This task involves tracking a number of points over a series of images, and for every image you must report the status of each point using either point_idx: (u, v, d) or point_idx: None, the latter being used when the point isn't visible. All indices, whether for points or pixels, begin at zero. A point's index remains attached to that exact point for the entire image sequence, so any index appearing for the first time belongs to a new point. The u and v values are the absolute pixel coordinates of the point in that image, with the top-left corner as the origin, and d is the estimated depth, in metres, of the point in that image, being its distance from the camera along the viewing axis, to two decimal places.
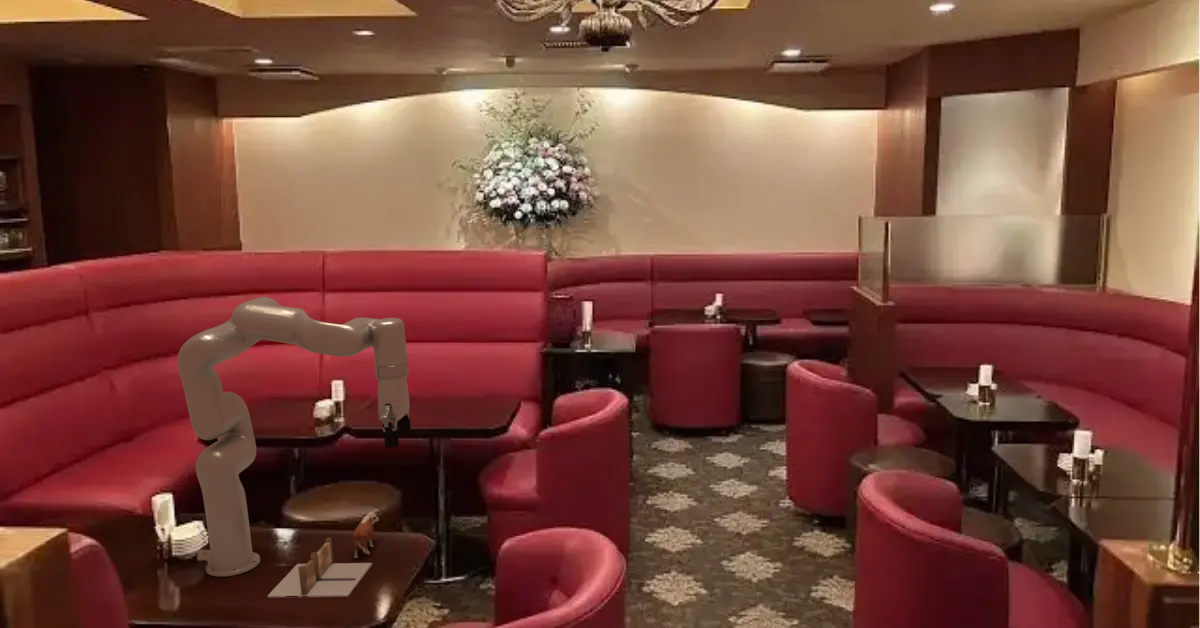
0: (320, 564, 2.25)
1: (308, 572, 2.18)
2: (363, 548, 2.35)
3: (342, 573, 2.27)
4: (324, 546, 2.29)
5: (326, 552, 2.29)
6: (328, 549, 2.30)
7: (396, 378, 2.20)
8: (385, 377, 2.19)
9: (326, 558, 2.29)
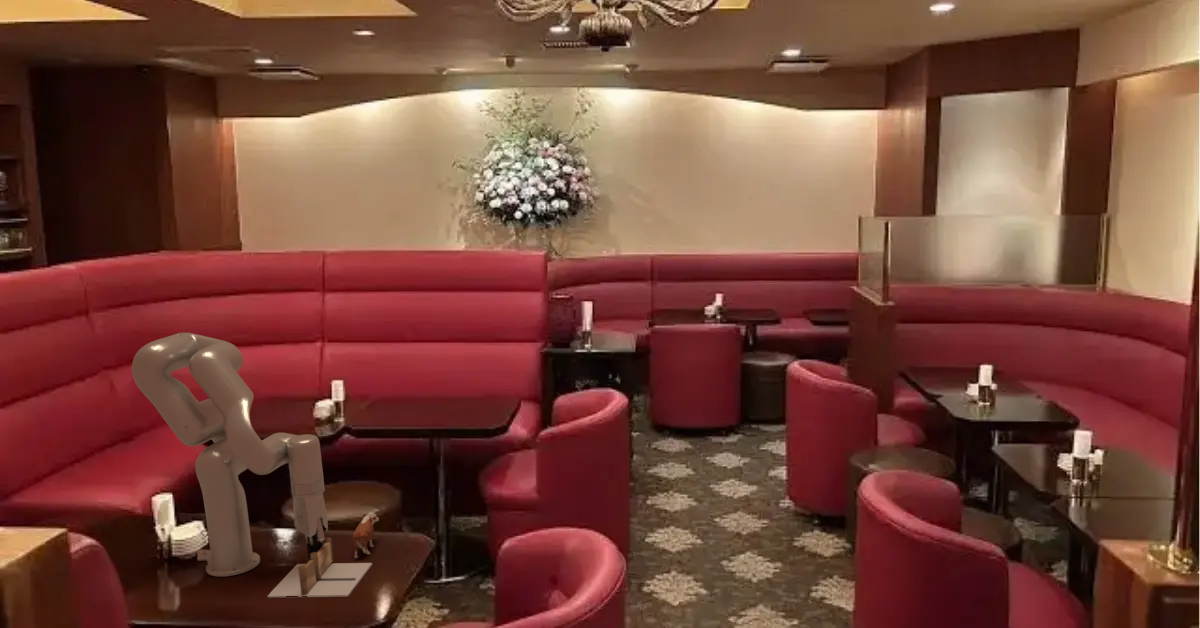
0: (320, 564, 2.25)
1: (308, 572, 2.18)
2: (363, 548, 2.35)
3: (342, 573, 2.27)
4: (324, 546, 2.29)
5: (326, 552, 2.29)
6: (328, 549, 2.30)
7: (321, 491, 2.27)
8: (312, 493, 2.25)
9: (326, 558, 2.29)
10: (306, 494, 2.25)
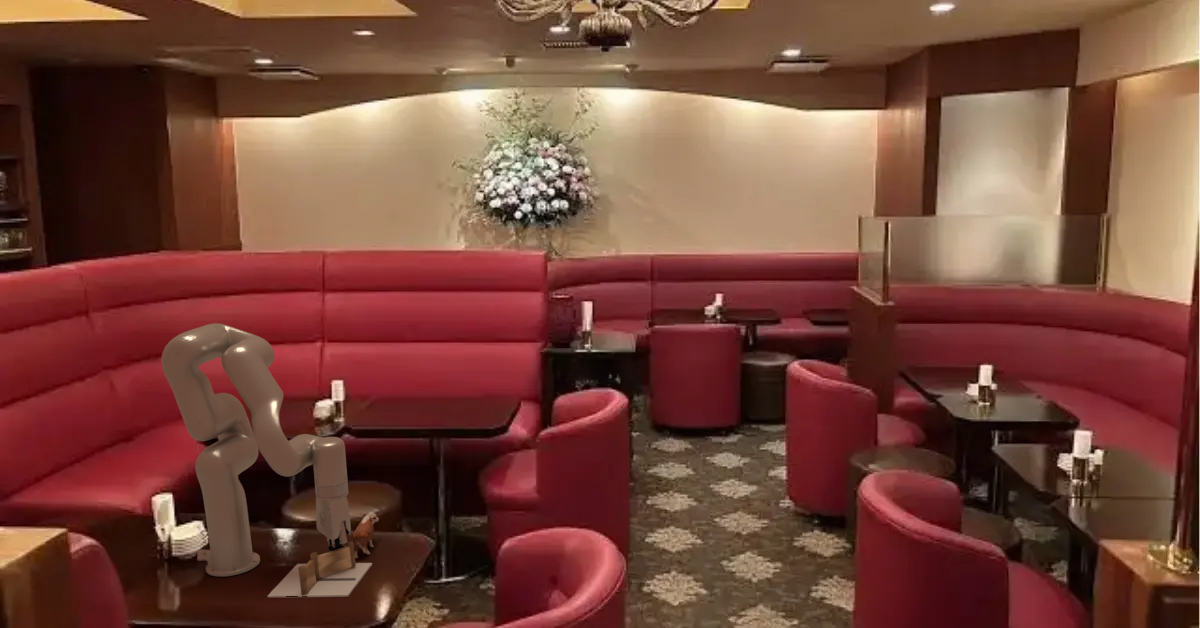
0: (323, 566, 2.24)
1: (308, 572, 2.18)
2: (363, 548, 2.35)
3: (342, 573, 2.27)
4: (339, 549, 2.27)
5: (340, 556, 2.27)
6: (344, 553, 2.27)
7: (345, 494, 2.26)
8: (336, 496, 2.24)
9: (338, 562, 2.27)
10: (330, 497, 2.24)
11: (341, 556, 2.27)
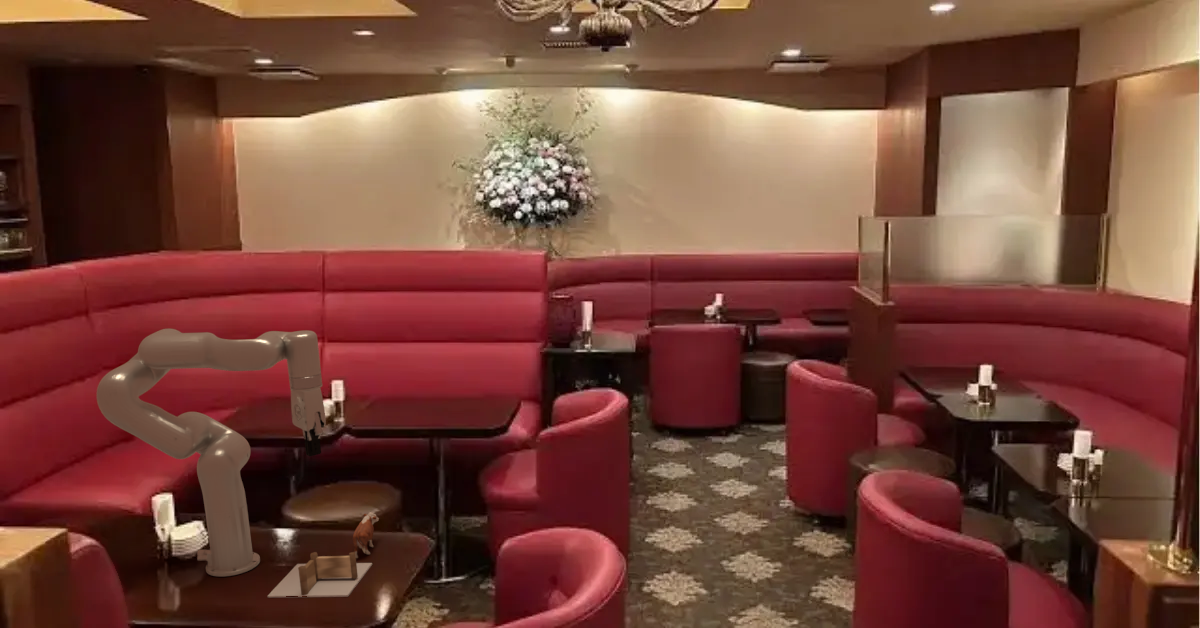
0: (322, 568, 2.23)
1: (308, 572, 2.18)
2: (363, 548, 2.35)
3: None
4: (340, 556, 2.23)
5: (340, 563, 2.22)
6: (344, 562, 2.22)
7: (319, 386, 2.29)
8: (310, 387, 2.27)
9: (337, 569, 2.23)
10: (304, 388, 2.26)
11: (341, 564, 2.22)
